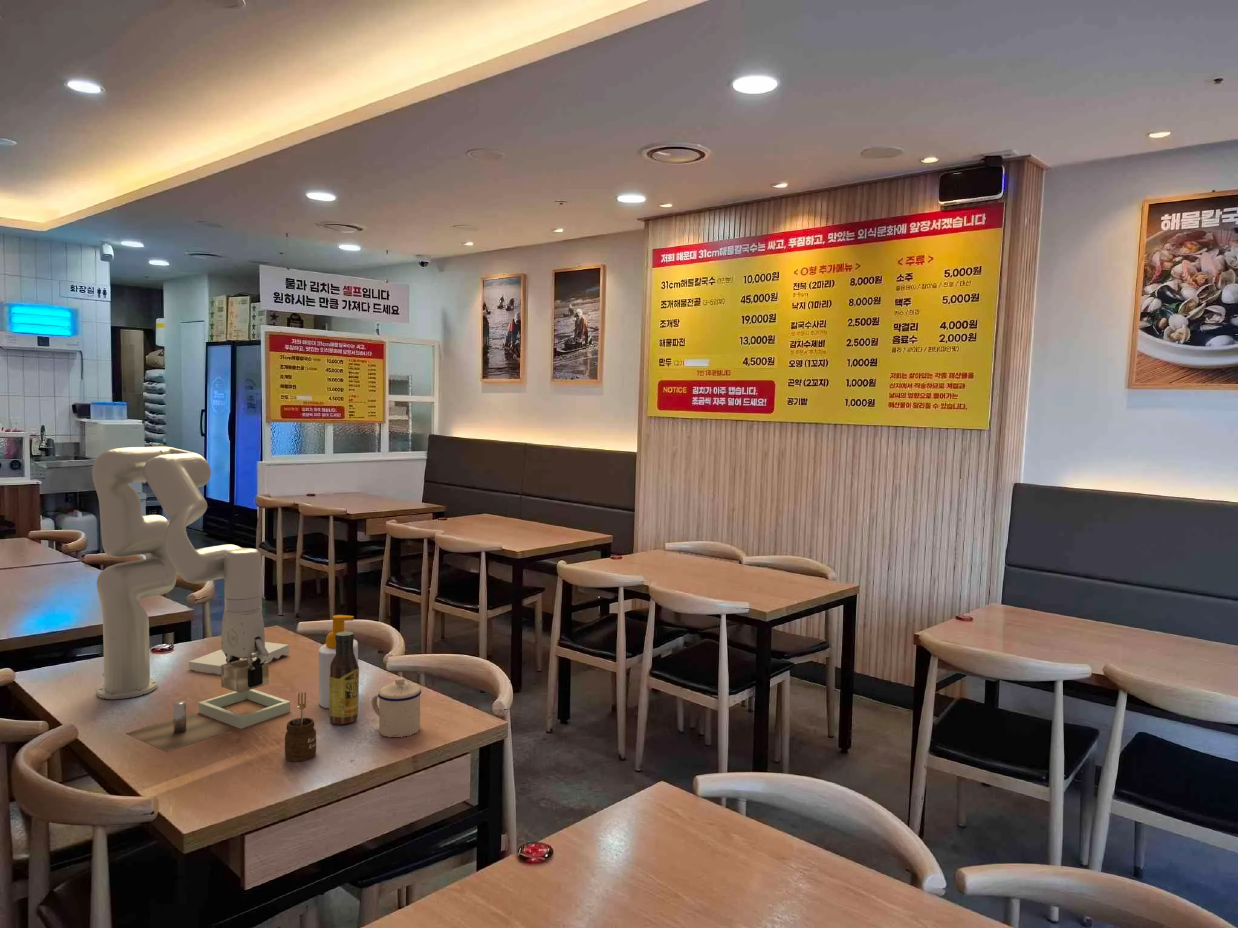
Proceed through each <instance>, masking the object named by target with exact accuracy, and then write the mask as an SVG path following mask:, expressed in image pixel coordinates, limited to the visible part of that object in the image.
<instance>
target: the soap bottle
mask: <svg viewBox="0 0 1238 928" xmlns="http://www.w3.org/2000/svg"><path fill="white" fill-rule="evenodd" d="M354 620H355V616H354V615H345V614H335V615H332V631H331V632H329V633H328V634H327V635H326V638H325V644H323V645H321V646H320V648H318V704H319V705H320V707H322V708H323V709H324V708H326V709H329V688H330V665H331V662H332V660H333V658H334V657H335V655H336V640H335V634H336V633H338V632H346V631H347V630H346V629H345V622H346V621H349V622H352V621H354ZM353 650H354V651H353V652H354V655H355V658H356V661H357V664H358V665H359V643H358V640H356V639H355V638H354V640H353Z"/></svg>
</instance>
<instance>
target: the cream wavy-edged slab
mask: <svg viewBox="0 0 1238 928" xmlns="http://www.w3.org/2000/svg"><path fill="white" fill-rule="evenodd" d="M265 648H266V650H267V651H268V653H269V655H268V657H267V658H266V662H268V664H269V663H271V662H272V661H275V660H279V658H280V657H281V656H287V655H289V654H290V652H289V651H290V645H289V644H286V643H285V644H284V643H278V642H277V643H276V642H270V641H269V642H268V641H265ZM253 654H255V653H252V655H253ZM241 659H242V658H240V660H241ZM255 659H257V658H256V657H255ZM226 663H227V662H226V656H225V654H224V652H223V651H222V649H219V650H215V651H213V652H210V653H208V654H205V655H202V656H200V657H198V658H197V657H196V658H194V659H192V660H189V661H188V669H189V670H190V671H191V670H196V671H195V672H198V671H201V672H200V673H204V672H205V673H204V674H210V673H215V675H217V676H221V665H222V664H226Z"/></svg>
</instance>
